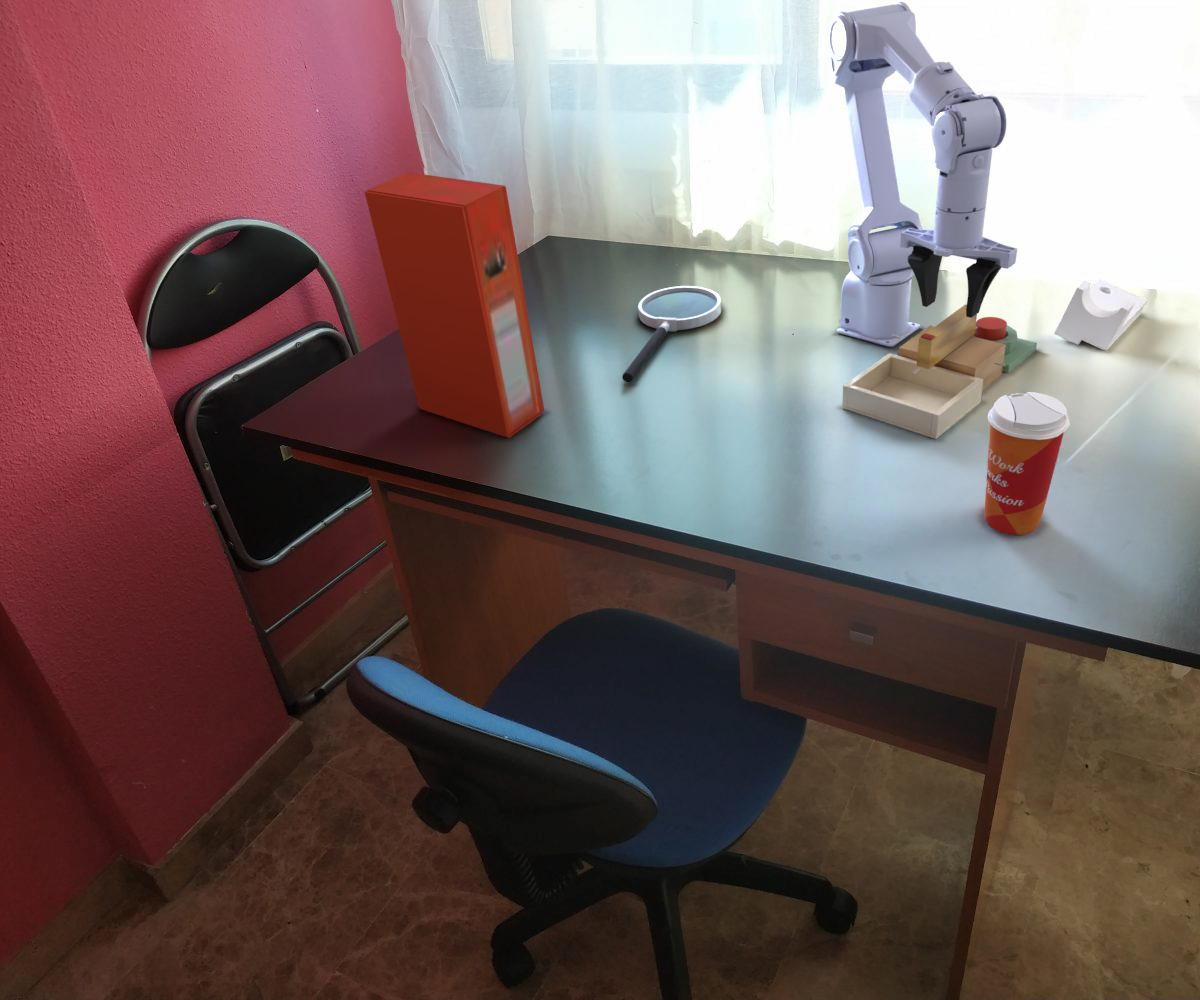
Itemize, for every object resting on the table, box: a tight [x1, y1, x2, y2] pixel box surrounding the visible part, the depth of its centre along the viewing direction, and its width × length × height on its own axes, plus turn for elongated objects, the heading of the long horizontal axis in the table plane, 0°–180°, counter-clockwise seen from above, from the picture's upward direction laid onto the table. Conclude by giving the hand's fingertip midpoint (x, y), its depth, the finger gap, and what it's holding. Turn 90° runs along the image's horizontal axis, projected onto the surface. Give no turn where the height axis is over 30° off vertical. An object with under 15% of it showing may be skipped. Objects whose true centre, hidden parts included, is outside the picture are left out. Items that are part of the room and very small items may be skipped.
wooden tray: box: [841, 352, 983, 440], centre depth 128 cm, size 14×11×3 cm
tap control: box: [973, 325, 1038, 374], centre depth 137 cm, size 10×8×3 cm
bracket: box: [1053, 278, 1149, 351], centre depth 138 cm, size 13×7×8 cm, turn 138°
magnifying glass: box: [622, 285, 722, 384], centre depth 153 cm, size 13×31×2 cm, turn 158°
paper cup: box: [984, 391, 1070, 536], centre depth 103 cm, size 8×8×14 cm
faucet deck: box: [891, 325, 1006, 391], centre depth 132 cm, size 16×16×5 cm
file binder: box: [363, 171, 545, 439], centre depth 131 cm, size 8×17×32 cm, turn 52°
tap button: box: [975, 316, 1008, 341], centre depth 136 cm, size 4×4×2 cm
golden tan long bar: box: [917, 303, 978, 369], centre depth 129 cm, size 12×2×4 cm, turn 135°
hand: (950, 309), depth 127 cm, fingers open, 6 cm apart
